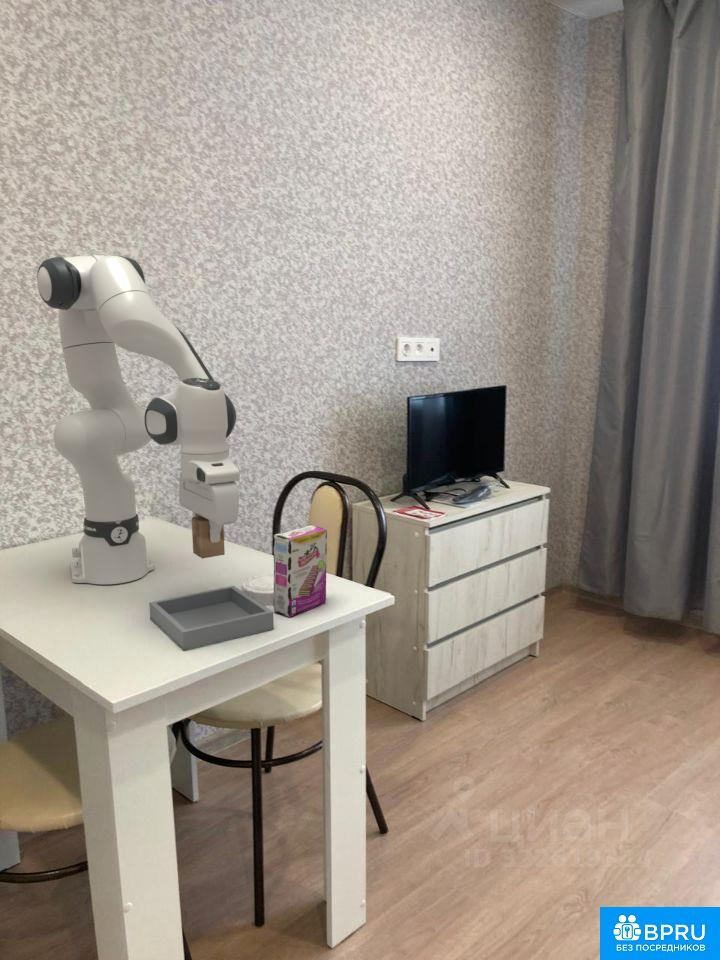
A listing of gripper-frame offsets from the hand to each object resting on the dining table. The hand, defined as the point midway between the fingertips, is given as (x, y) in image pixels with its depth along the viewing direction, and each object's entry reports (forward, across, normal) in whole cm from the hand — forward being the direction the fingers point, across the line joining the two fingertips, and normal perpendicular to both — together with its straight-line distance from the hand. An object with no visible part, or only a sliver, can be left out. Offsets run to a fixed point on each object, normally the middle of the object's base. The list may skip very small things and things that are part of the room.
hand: (208, 538), depth 141 cm
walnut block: (+3, 0, 0) cm, 3 cm away
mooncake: (+18, -8, +17) cm, 26 cm away
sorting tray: (+17, 0, 0) cm, 17 cm away
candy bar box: (+18, +2, +19) cm, 26 cm away
